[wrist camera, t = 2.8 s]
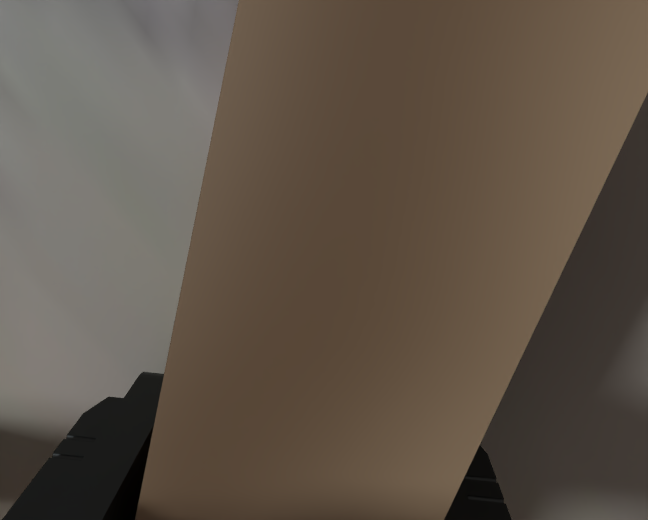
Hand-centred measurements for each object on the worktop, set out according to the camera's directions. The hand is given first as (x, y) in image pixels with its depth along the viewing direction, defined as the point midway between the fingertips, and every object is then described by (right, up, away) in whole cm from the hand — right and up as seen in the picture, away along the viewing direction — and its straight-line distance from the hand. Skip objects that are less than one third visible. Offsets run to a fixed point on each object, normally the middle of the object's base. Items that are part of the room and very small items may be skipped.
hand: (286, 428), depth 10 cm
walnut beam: (-1, -2, +2) cm, 3 cm away
